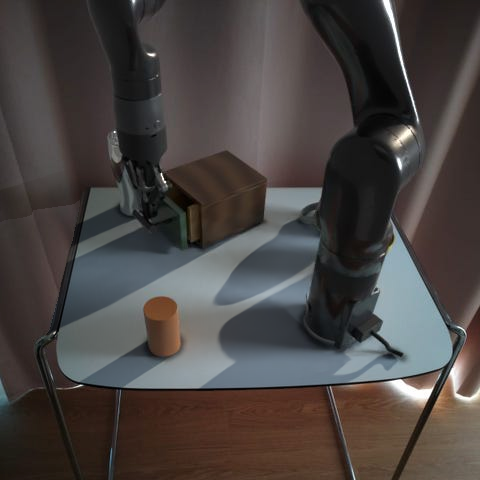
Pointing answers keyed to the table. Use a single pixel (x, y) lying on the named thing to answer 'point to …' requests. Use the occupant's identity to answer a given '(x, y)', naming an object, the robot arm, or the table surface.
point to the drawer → (174, 218)
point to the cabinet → (222, 194)
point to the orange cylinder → (162, 326)
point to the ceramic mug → (313, 219)
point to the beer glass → (122, 178)
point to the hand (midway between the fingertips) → (150, 215)
